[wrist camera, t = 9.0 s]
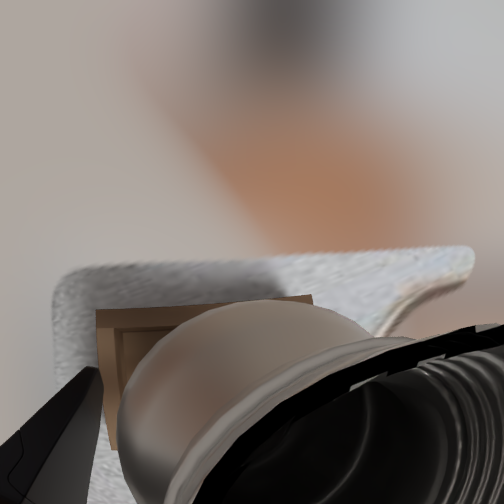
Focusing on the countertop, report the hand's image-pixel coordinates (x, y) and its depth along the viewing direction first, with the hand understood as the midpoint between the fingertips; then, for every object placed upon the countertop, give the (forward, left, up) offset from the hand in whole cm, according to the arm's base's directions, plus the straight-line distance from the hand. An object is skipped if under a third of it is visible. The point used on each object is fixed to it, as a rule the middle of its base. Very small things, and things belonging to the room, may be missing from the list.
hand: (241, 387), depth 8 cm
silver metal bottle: (-1, 0, -12) cm, 12 cm away
